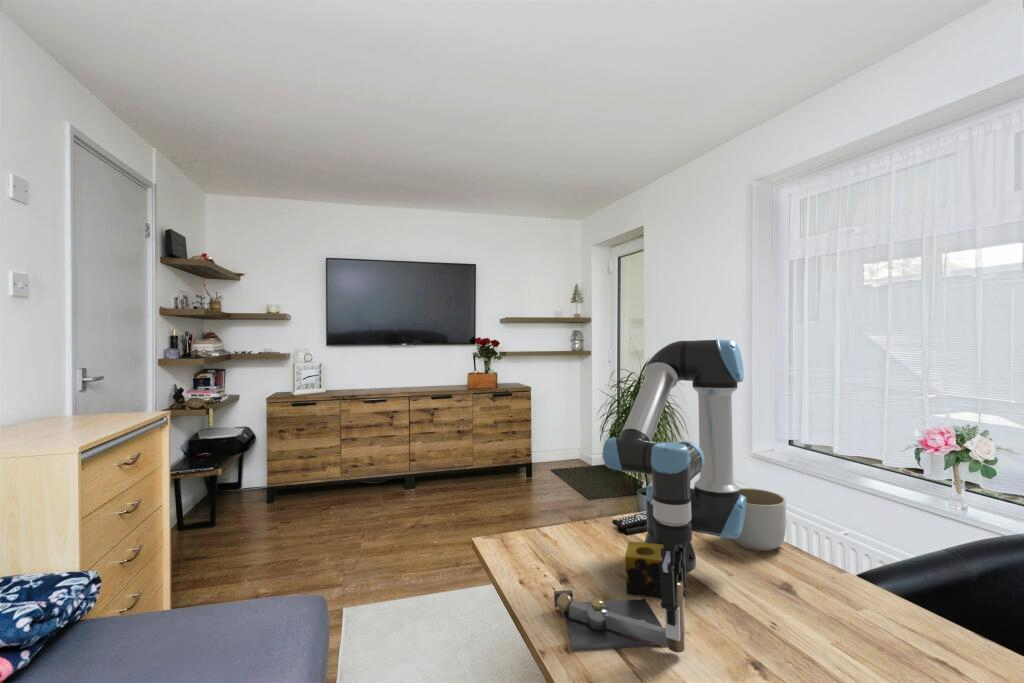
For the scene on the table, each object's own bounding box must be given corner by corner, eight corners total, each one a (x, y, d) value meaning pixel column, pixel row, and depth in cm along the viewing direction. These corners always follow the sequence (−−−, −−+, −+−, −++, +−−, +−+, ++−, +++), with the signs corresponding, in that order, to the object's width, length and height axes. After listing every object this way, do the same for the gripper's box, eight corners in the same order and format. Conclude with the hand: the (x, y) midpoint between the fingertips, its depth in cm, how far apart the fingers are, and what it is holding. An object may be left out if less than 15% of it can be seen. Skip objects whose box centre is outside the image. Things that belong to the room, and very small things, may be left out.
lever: (686, 643, 98) (685, 579, 99) (681, 656, 94) (679, 589, 94) (576, 609, 112) (574, 553, 112) (567, 620, 108) (565, 561, 108)
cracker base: (645, 603, 116) (644, 576, 116) (672, 649, 99) (671, 617, 99) (554, 608, 115) (553, 581, 115) (565, 655, 98) (564, 623, 98)
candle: (668, 581, 127) (667, 544, 127) (667, 600, 118) (666, 560, 118) (629, 576, 131) (628, 540, 131) (625, 594, 121) (624, 555, 121)
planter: (719, 532, 158) (718, 487, 158) (773, 534, 155) (772, 488, 155) (736, 555, 141) (734, 504, 141) (797, 557, 138) (795, 506, 138)
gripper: (664, 504, 106) (667, 607, 106) (641, 530, 92) (645, 649, 92) (699, 509, 102) (702, 617, 102) (681, 537, 88) (685, 662, 88)
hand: (675, 632), depth 97 cm, fingers closed on lever, 3 cm apart
